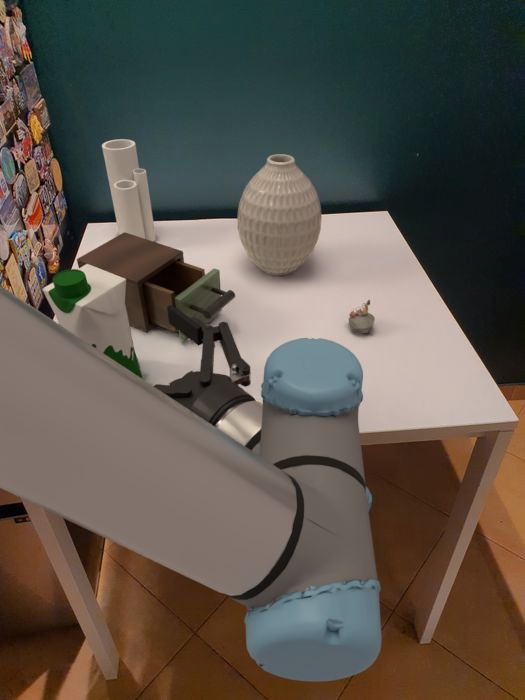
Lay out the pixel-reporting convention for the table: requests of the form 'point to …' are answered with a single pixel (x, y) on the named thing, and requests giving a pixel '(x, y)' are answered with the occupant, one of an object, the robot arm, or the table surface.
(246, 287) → the table surface
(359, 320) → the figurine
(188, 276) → the drawer
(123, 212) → the vase
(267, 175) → the vase
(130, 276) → the cabinet
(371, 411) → the table surface
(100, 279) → the soya milk
